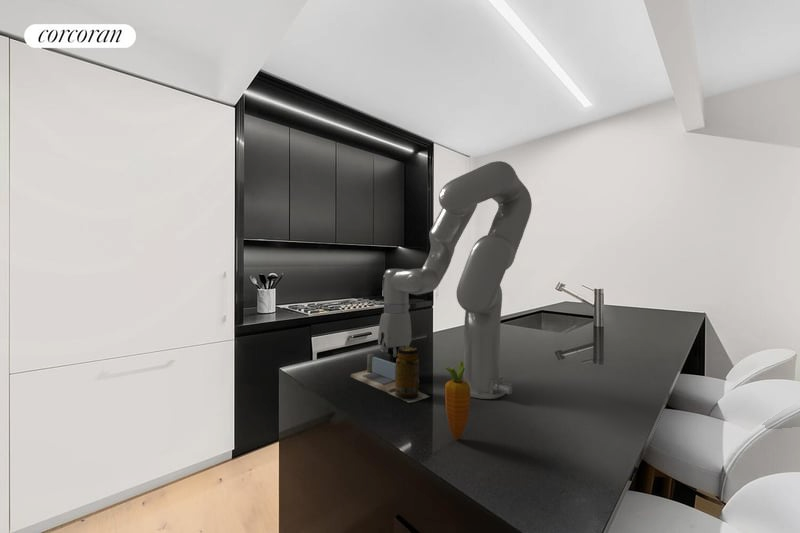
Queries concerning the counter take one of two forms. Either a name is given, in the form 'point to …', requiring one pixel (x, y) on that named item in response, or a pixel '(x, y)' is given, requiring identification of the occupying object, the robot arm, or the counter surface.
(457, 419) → the carrot
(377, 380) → the gate frame
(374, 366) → the panel
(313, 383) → the counter surface
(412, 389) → the condiment
